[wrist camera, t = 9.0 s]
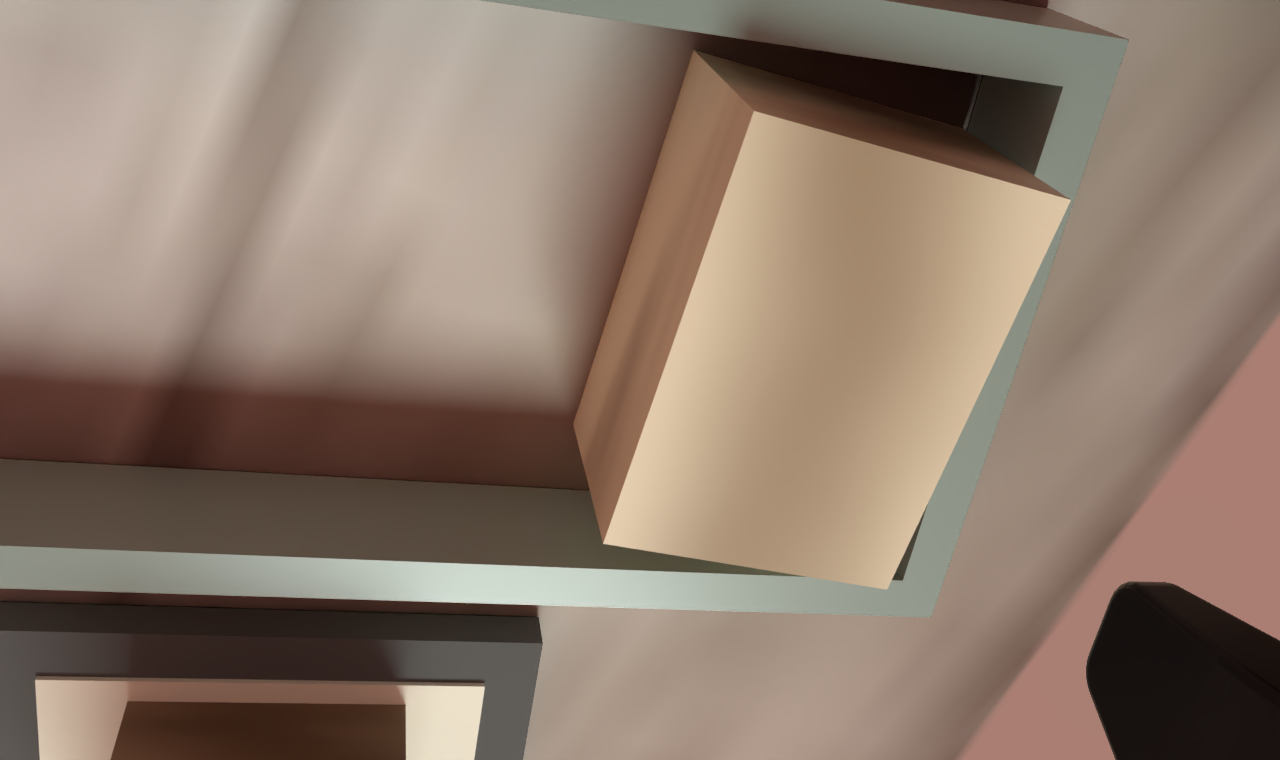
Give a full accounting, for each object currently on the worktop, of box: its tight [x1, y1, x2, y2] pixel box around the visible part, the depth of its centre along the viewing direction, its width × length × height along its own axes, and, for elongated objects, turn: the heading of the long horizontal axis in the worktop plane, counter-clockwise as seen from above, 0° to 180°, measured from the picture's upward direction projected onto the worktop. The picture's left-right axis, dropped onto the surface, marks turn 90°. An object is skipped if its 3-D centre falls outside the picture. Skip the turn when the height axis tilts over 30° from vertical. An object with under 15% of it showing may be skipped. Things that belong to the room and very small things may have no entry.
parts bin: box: [0, 0, 1129, 617], centre depth 18 cm, size 22×11×2 cm, turn 80°
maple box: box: [573, 50, 1071, 590], centre depth 20 cm, size 5×7×4 cm
